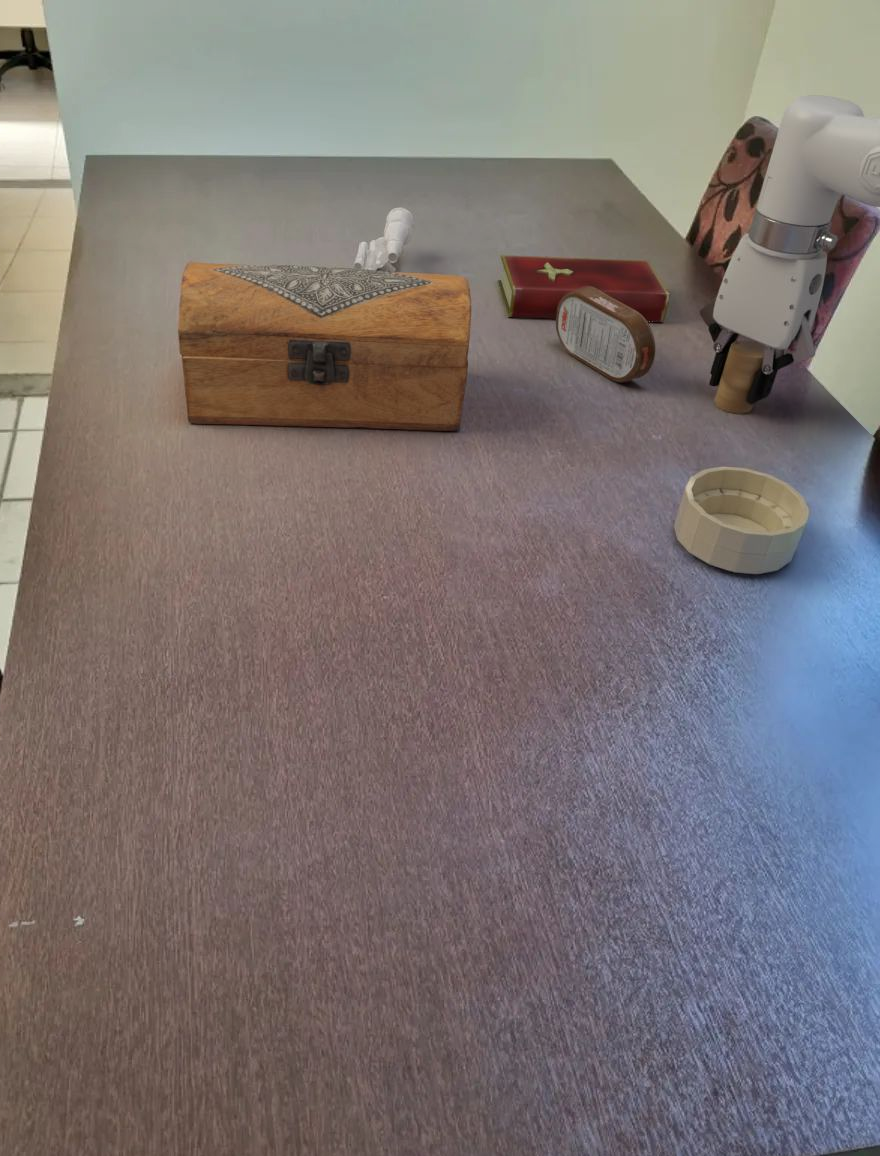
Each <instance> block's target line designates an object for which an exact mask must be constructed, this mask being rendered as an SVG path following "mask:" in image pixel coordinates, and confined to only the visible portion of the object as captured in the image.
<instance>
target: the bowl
mask: <svg viewBox="0 0 880 1156" xmlns="http://www.w3.org/2000/svg"><path fill="white" fill-rule="evenodd" d="M810 513H811V510H810V508H809V505H808V503H807V501H806V499H805V497H804V496H803V495H802V494H801V493H800V492H799V491H797V490H796V489H795V488H794V487H793V486H792V485H791V484H790V483H787V482H786V481H783V480H782V479H779V478H777V477H775V476H774V475H772V474H769V473H765V472H763V471H758V470H754V469H751V468H748V467H737V466H718V467H710V468H705V469H702V470H700V471H699V472H697V473H695V474H693V475H691V476H690V477H689V479H688V481H687V483H686V485H685V487H684V490H683V493H682V497H681V500H680V503H679V507H678V509H677V514H676V517H675V521H674V523H673V529H674V532H675V537H676V539H677V541H678V542H679V543H680V544H681V545H682V546H683V548H684V549H685V550H686V551H687V552H688V553H689V554H691V555H692V556H694V557H696V558H697V559H700V560H701V561H702V562H705V563H706V564H708V565H710V566H713V567H716V568H719V569H722V570H726V571H728V572H732V573H739V574H748V575H749V574H750V575H751V574H752V575H760V574H765V573H770V572H772V573H773V572H777V571H779V570H781V569H782V568H783V567H785V566H786V565H788V564H789V563H790V562H791V561H792V560H793V558H794V555H795V553H796V551H797V548H798V545H799V543H800V541H801V538H802V535H803V533H804V530H805V528H806V525H807V523H808V521H809V517H810Z"/></svg>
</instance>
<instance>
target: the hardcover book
mask: <svg viewBox="0 0 880 1156" xmlns="http://www.w3.org/2000/svg"><path fill="white" fill-rule="evenodd" d="M500 260H501V263H502V271H501V279H498V280H497V284H498V283H499V285H498V288H499V287H500V288H499V292H500V291H501V292H500V295H501V294H502V295H501V298H502V297H503V298H502V301H503V300H504V301H503V305H504V304H505V305H504V307H506V308H505V311H506V310H507V311H506V314H508V315H507V317H520V318H519V319H534V318H544V319H543V320H546V319H545V318H549V319H548V320H556V314H557V308H558V304H559V302H560V300H561V299H562V298H563V297H564V296H565V295H566V294H568V293H570V292H572V291H575V290H578V289H579V288H582V287H585V286H590V287H594V288H596V289H598V290H599V291H601V292H603V293H605V294H606V295H608V296H610V297H612V298H613V299H615V300H617V301H619V302H621V303H623V304H624V305H626V306H628V307H630V308H632V309H634V310H635V311H637V312H639V313H640V314H641V315H642V316H643V317H644V318H645V319H646V321H650V322H649V323H652V321H653V322H663V323H664V321H665V318H666V316H667V315H666V314H667V311H668V307H669V302H670V296H671V295H670V294H671V293H670V292H669V291H668V289H667V288H666V286H665V285H664V283H663V280H662V279H661V278H660V277H659V275H658V273H657V271H656V270H655V268H654V267H653V265H652V263H651V262H650V260H646V259H645V260H644V259H643V260H642V259H618V258H617V259H616V258H591V257H590V258H589V257H563V256H541V255H539V256H538V255H513V254H501V256H500ZM554 318H555V319H554Z"/></svg>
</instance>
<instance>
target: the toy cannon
mask: <svg viewBox="0 0 880 1156" xmlns="http://www.w3.org/2000/svg"><path fill="white" fill-rule="evenodd" d="M414 226H415V219H414V216H413V214H412V213H411V212H410V211H409V210H408V209H407V208H404V207H396V208H393V209H391V210H390V211H389V212H388V214H387V216H386V218H385V225H384V228H383V236H379V237H377V238H376V239H373V240H371V241H369V244H368V243H367V242H366V241H360V242H359V243H358V250H357V254H356V257H355V258H354V263H353V265H352V269H368V270H377V271H378V269H382V268H383V267H385V269H386V270H388V272H396V270H397V269H396V268H395V267H394V265H392V264H393V263H396V262H397V261H398V260H399V257H400V256H401V255H402V254H403V252H404V247H405V246H406V245H408V243H410V241H411V239H412V234H413V229H414ZM365 257H366V261H365Z"/></svg>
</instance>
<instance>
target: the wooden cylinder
mask: <svg viewBox="0 0 880 1156" xmlns="http://www.w3.org/2000/svg"><path fill="white" fill-rule="evenodd" d="M763 353H764V345H763V344H761V343H758V342H756V341H754V340H747V339H745V340H744V339H741V340H737V341H735V342H733V343H732V344H731V346H730V350H729V353H728V356H727V360H726V363H725V366H724V369H723V373H722V376H721V379H720V383H719V385H718V386H717V390H716V393H715V396H714V399H713V403H714V405H715V406H716V407H717V408H718V409H720V410H721V411H724V412H726V413H731V414H737V415H740V414H741V415H742V414H748V413H749V412H751V411H752V409H753V406H754V404H752V405H751V404H749V403H747V397H748V394H749V391H750V388H751V385H752V382H753V379H754V376H755V373H756V372H757V371H758V370H760V369H761V368H762V363H763Z"/></svg>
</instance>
